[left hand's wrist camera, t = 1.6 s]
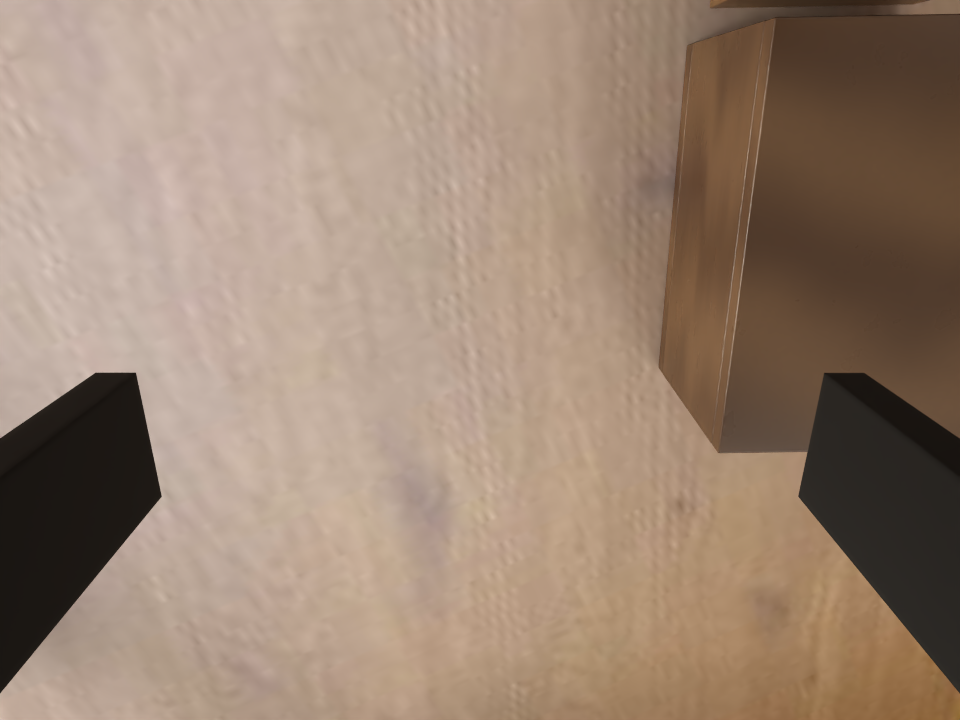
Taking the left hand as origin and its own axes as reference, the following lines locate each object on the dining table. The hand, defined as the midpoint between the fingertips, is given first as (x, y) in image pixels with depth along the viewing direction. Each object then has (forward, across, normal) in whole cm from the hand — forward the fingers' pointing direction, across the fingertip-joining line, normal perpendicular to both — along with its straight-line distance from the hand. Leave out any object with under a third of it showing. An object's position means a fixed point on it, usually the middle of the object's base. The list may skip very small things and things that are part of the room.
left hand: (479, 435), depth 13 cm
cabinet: (+22, -15, -1) cm, 27 cm away
